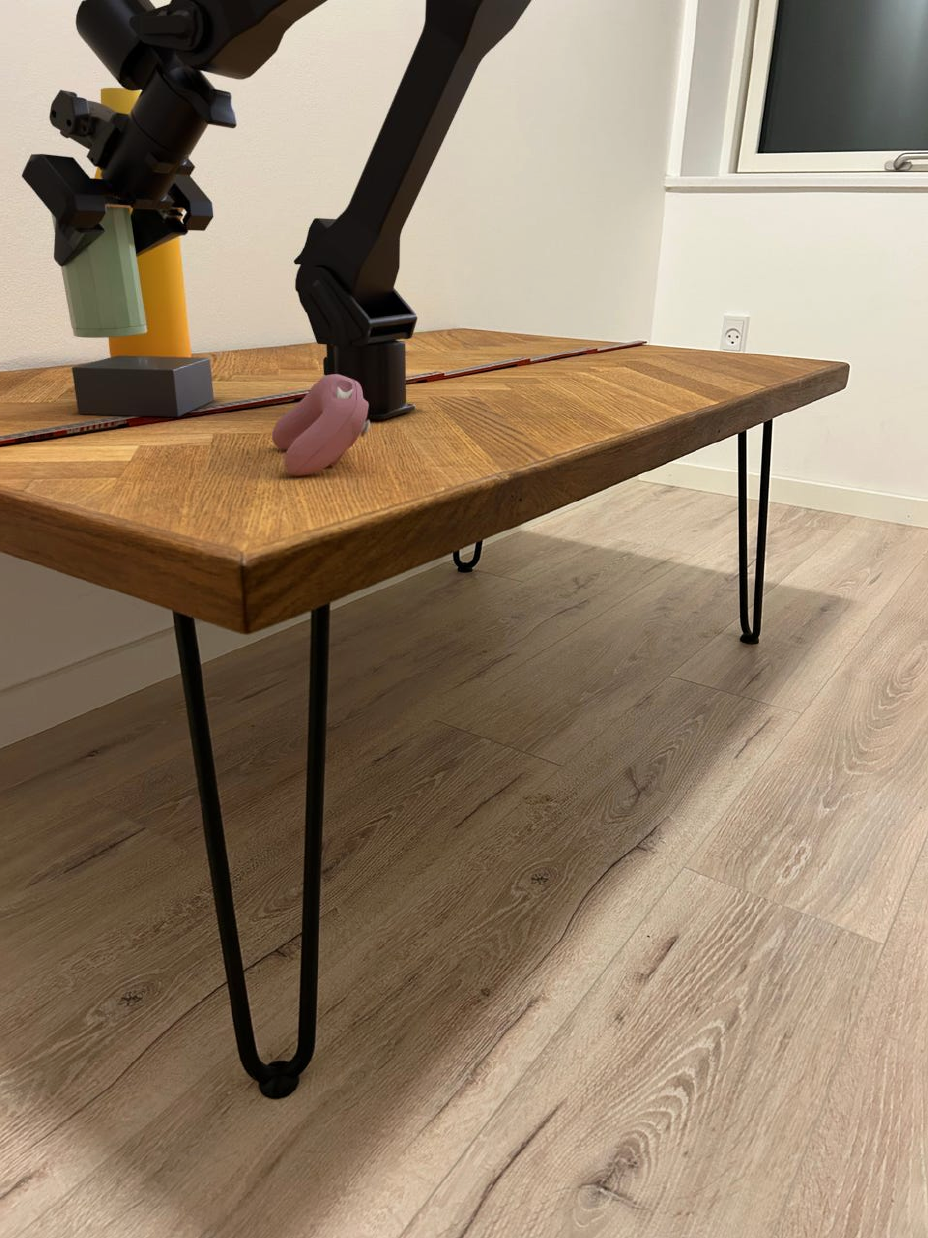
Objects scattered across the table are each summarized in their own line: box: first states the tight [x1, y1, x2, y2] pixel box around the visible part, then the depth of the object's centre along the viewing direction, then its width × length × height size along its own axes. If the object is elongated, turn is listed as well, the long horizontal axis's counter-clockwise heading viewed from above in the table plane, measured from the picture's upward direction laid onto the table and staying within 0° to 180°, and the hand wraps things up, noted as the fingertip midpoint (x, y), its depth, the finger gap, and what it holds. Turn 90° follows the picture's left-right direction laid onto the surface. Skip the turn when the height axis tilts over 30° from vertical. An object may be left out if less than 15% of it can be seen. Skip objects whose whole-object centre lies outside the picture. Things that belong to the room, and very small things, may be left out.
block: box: [71, 356, 215, 418], centre depth 83 cm, size 9×9×4 cm
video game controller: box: [271, 374, 371, 477], centre depth 63 cm, size 10×5×7 cm, turn 17°
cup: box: [50, 207, 147, 339], centre depth 89 cm, size 7×7×13 cm
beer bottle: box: [93, 87, 192, 358], centre depth 104 cm, size 9×9×29 cm
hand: (88, 262), depth 89 cm, fingers closed on cup, 7 cm apart
